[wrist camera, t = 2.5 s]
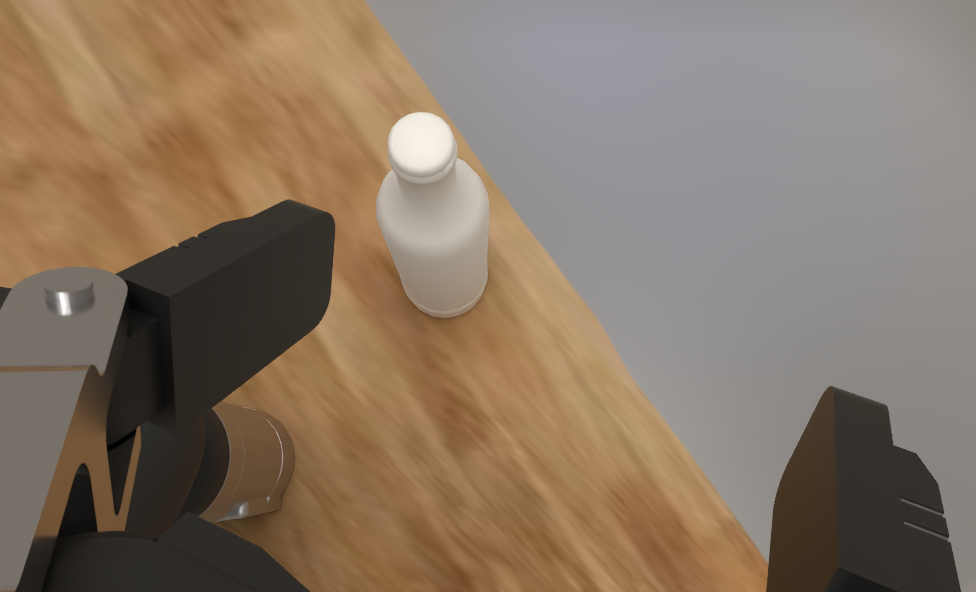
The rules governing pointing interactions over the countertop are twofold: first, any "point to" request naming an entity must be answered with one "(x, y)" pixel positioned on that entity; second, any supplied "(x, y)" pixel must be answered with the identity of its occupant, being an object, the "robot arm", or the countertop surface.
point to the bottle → (434, 217)
